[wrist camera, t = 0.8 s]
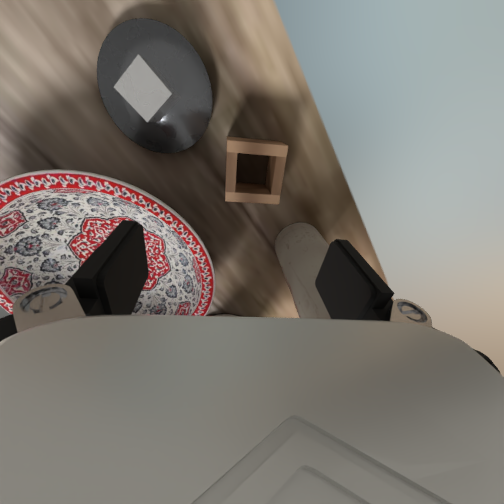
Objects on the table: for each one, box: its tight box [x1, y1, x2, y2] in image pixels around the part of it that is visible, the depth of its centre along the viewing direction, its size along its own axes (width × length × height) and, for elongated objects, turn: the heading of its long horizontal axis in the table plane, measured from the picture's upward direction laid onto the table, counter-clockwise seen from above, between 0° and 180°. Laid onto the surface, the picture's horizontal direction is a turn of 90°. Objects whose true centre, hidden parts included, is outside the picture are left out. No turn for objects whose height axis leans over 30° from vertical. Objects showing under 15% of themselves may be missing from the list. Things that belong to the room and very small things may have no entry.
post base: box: [97, 18, 213, 153], centre depth 23 cm, size 12×12×6 cm
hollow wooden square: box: [225, 136, 288, 204], centre depth 29 cm, size 7×7×5 cm
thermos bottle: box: [275, 223, 331, 319], centre depth 27 cm, size 8×8×28 cm
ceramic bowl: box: [0, 169, 215, 316], centre depth 33 cm, size 29×29×8 cm
